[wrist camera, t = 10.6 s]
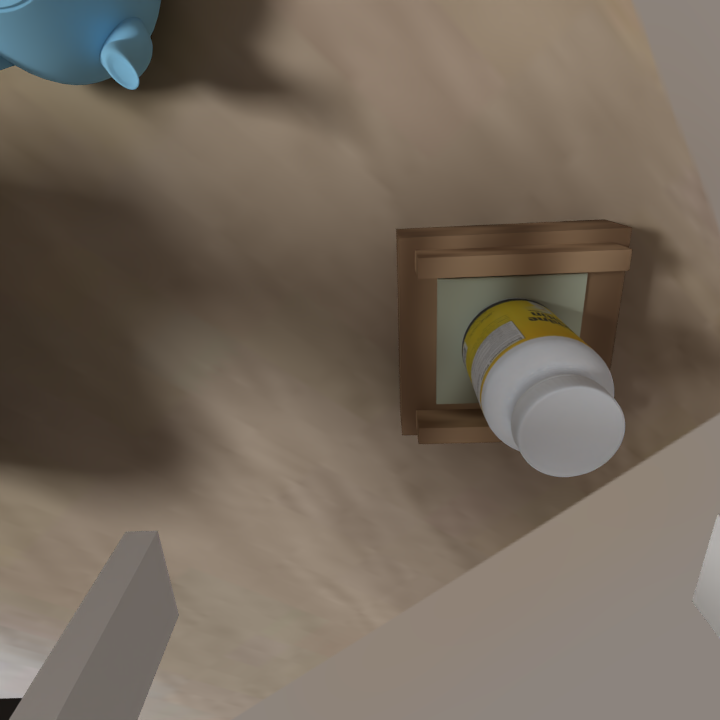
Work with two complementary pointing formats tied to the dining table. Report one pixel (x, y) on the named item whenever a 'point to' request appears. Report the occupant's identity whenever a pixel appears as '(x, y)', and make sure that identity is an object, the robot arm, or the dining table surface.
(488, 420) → the pill bottle
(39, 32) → the teapot
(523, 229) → the wooden tray
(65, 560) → the dining table surface
